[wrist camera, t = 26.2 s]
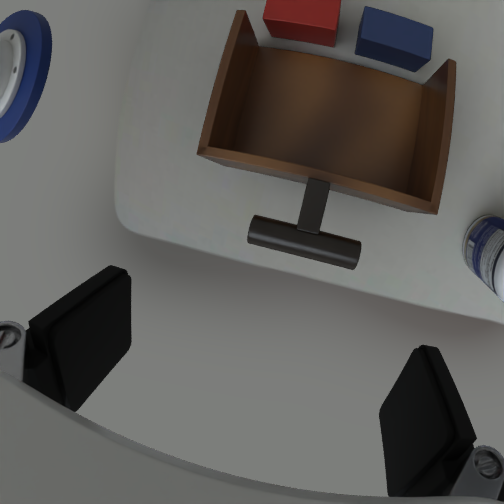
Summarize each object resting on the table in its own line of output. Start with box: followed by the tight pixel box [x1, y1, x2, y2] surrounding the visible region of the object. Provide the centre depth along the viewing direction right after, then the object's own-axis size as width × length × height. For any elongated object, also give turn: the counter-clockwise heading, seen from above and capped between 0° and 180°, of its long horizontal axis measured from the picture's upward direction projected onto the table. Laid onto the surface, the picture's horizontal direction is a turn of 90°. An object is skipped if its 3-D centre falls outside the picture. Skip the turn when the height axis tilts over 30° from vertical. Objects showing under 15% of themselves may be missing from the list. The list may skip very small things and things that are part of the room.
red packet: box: [263, 0, 341, 47], centre depth 18 cm, size 5×4×3 cm
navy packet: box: [355, 6, 433, 72], centre depth 17 cm, size 5×4×3 cm
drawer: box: [197, 10, 456, 270], centre depth 19 cm, size 14×14×7 cm
